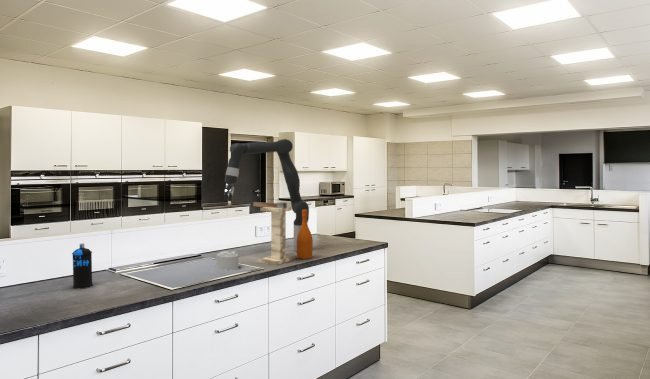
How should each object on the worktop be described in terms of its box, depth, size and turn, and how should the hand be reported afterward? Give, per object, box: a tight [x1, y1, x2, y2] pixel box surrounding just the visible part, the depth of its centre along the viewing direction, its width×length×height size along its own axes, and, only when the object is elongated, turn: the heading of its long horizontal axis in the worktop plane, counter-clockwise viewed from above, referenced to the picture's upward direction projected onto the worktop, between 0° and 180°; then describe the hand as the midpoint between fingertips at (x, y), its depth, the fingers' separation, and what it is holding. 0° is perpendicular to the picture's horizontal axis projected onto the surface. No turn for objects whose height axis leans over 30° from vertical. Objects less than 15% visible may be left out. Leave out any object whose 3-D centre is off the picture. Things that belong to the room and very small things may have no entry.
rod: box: [252, 201, 288, 208], centre depth 264 cm, size 4×22×3 cm, turn 61°
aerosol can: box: [71, 242, 94, 289], centre depth 207 cm, size 8×8×20 cm
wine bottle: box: [296, 209, 314, 260], centre depth 273 cm, size 10×10×30 cm
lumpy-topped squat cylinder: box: [215, 250, 240, 270], centre depth 248 cm, size 10×13×9 cm
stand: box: [258, 206, 293, 266], centre depth 263 cm, size 16×13×32 cm
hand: (227, 201), depth 274 cm, fingers open, 8 cm apart
